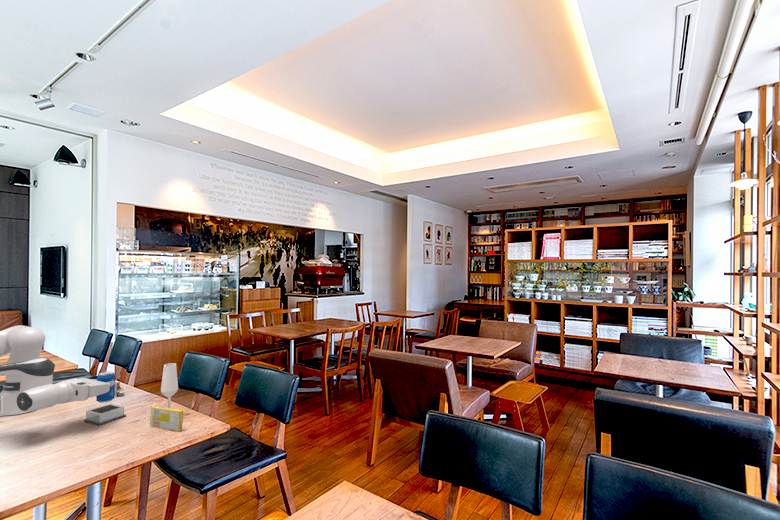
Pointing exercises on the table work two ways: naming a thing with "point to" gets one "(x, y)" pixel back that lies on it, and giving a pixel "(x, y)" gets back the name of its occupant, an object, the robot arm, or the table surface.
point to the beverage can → (111, 393)
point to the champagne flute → (169, 381)
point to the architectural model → (118, 388)
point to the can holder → (104, 414)
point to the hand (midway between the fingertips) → (108, 381)
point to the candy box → (166, 418)
